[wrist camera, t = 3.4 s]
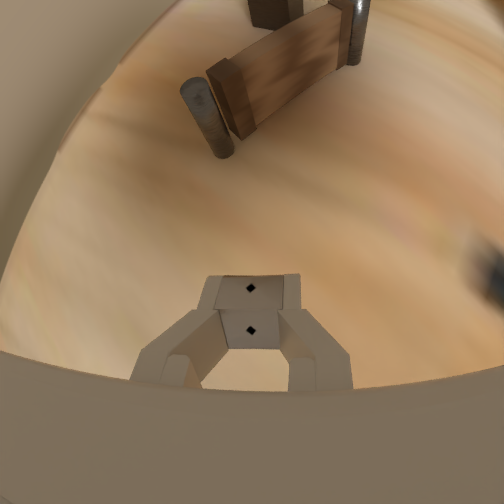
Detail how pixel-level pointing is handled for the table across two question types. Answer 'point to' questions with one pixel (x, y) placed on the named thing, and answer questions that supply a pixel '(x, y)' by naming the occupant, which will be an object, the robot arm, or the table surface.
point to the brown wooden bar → (281, 65)
